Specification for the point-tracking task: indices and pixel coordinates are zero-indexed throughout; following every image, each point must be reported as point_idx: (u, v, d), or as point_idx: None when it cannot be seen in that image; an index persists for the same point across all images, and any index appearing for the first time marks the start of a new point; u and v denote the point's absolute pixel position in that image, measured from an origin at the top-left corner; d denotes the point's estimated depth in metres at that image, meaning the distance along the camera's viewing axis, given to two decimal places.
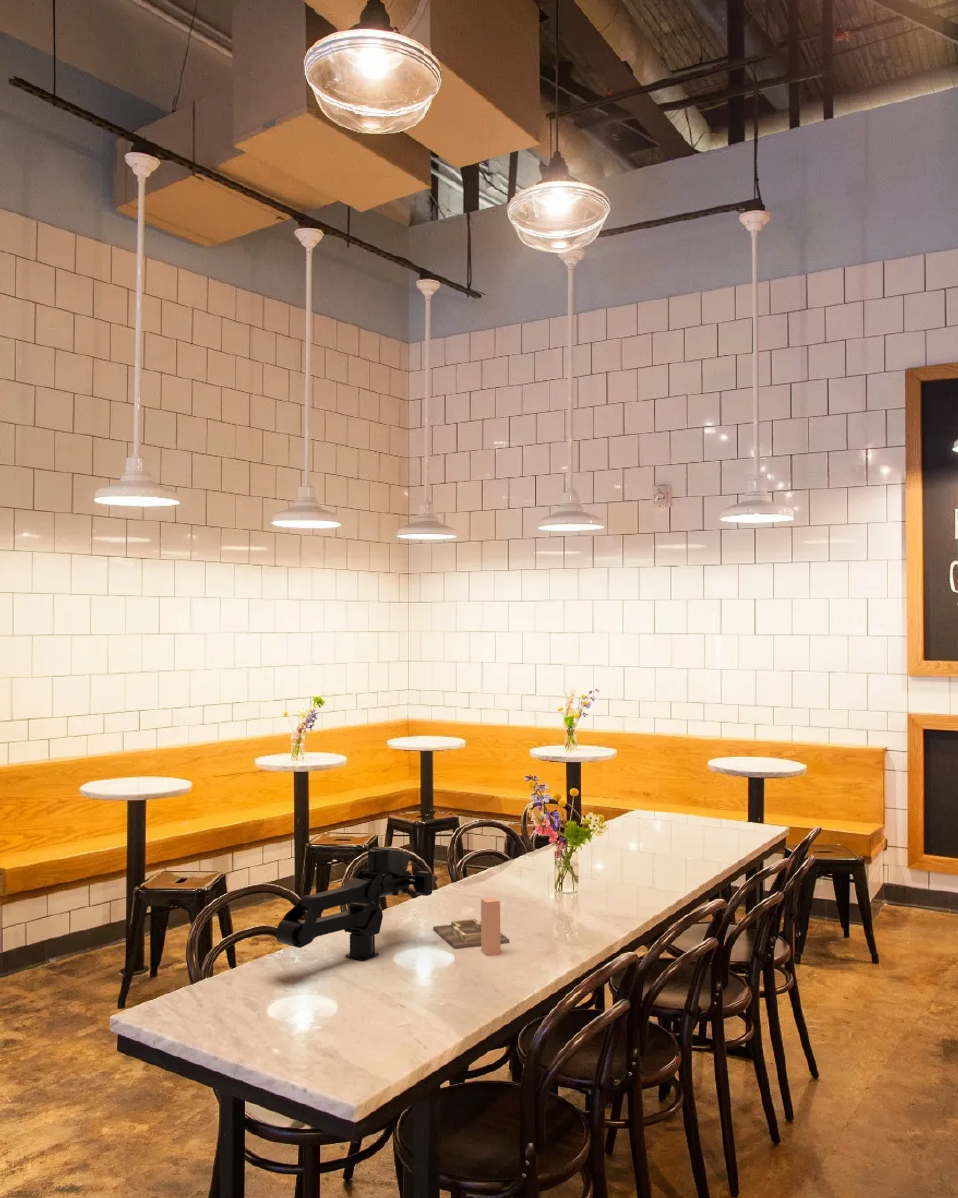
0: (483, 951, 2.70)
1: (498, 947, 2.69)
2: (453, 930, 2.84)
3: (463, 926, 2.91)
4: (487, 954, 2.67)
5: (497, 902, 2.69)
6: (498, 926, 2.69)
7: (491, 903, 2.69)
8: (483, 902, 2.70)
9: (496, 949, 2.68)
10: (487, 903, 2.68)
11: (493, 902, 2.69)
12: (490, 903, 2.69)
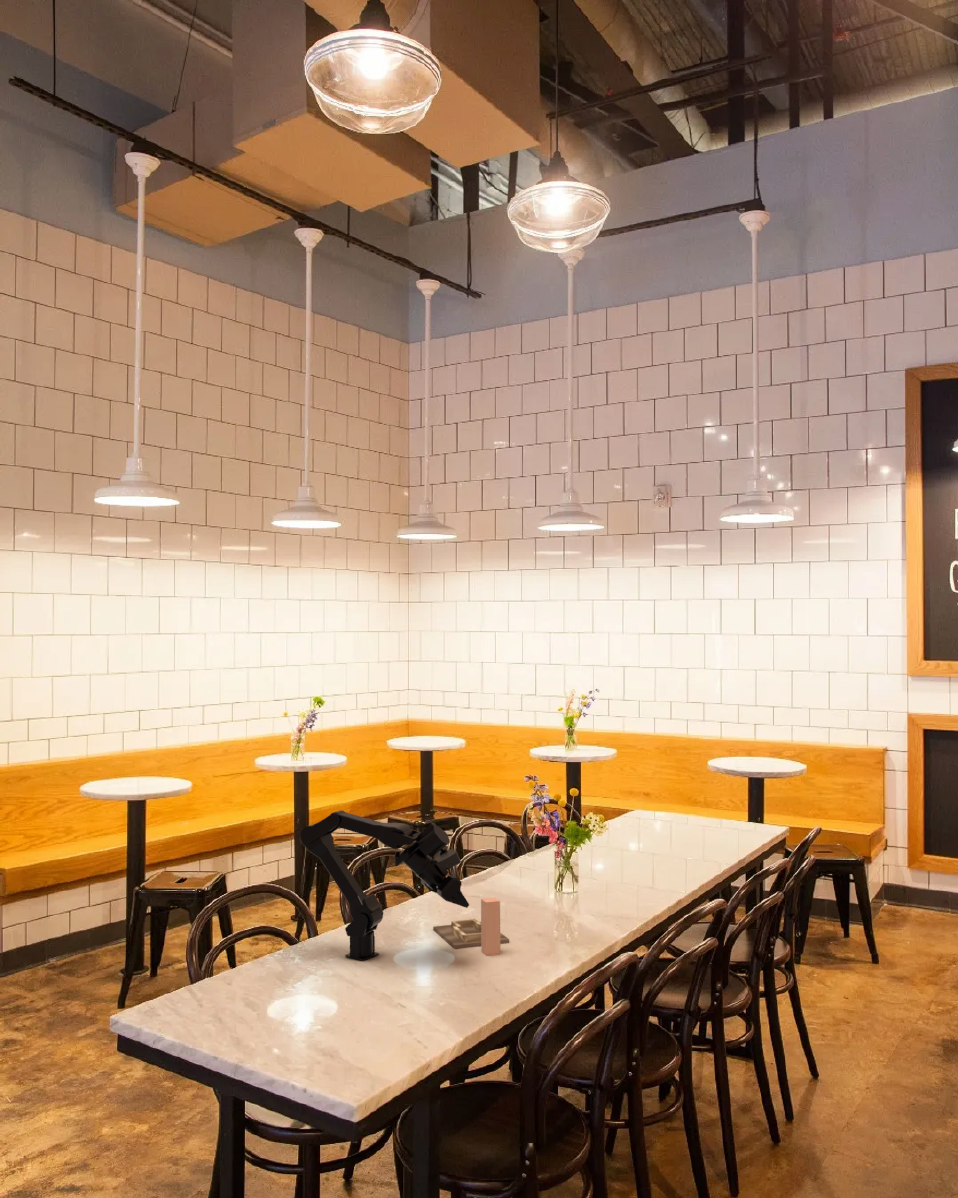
0: (483, 951, 2.70)
1: (498, 947, 2.69)
2: (453, 930, 2.84)
3: (463, 926, 2.91)
4: (487, 954, 2.67)
5: (497, 902, 2.69)
6: (498, 926, 2.69)
7: (491, 903, 2.69)
8: (483, 902, 2.70)
9: (496, 949, 2.68)
10: (487, 903, 2.68)
11: (493, 902, 2.69)
12: (490, 903, 2.69)
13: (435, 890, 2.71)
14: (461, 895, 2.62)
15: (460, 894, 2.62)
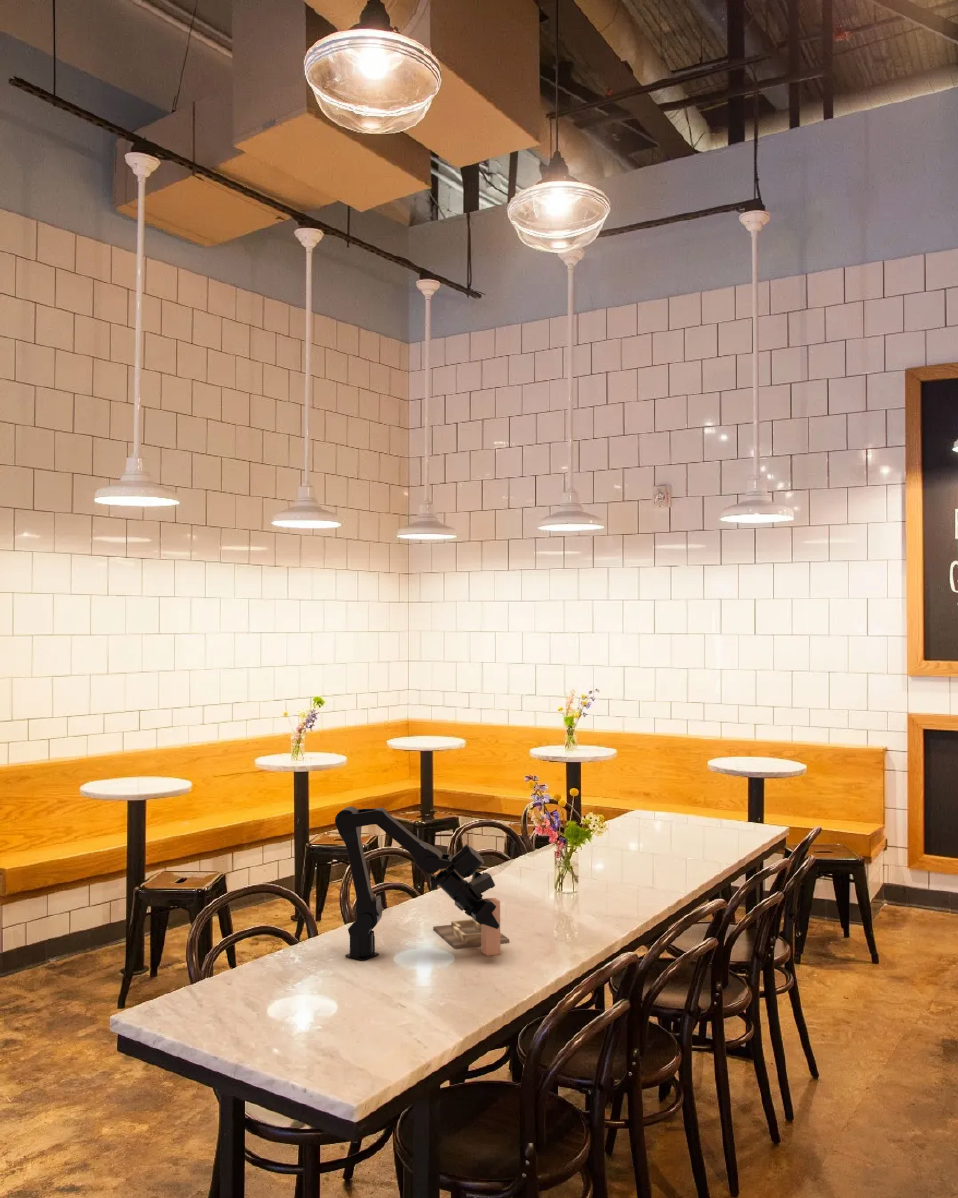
0: (483, 951, 2.70)
1: (498, 947, 2.69)
2: (453, 930, 2.84)
3: (463, 926, 2.91)
4: (487, 954, 2.67)
5: (497, 902, 2.69)
6: None
7: None
8: None
9: (496, 949, 2.68)
10: None
11: (493, 902, 2.69)
12: None
13: (472, 914, 2.71)
14: (492, 917, 2.67)
15: (491, 916, 2.67)
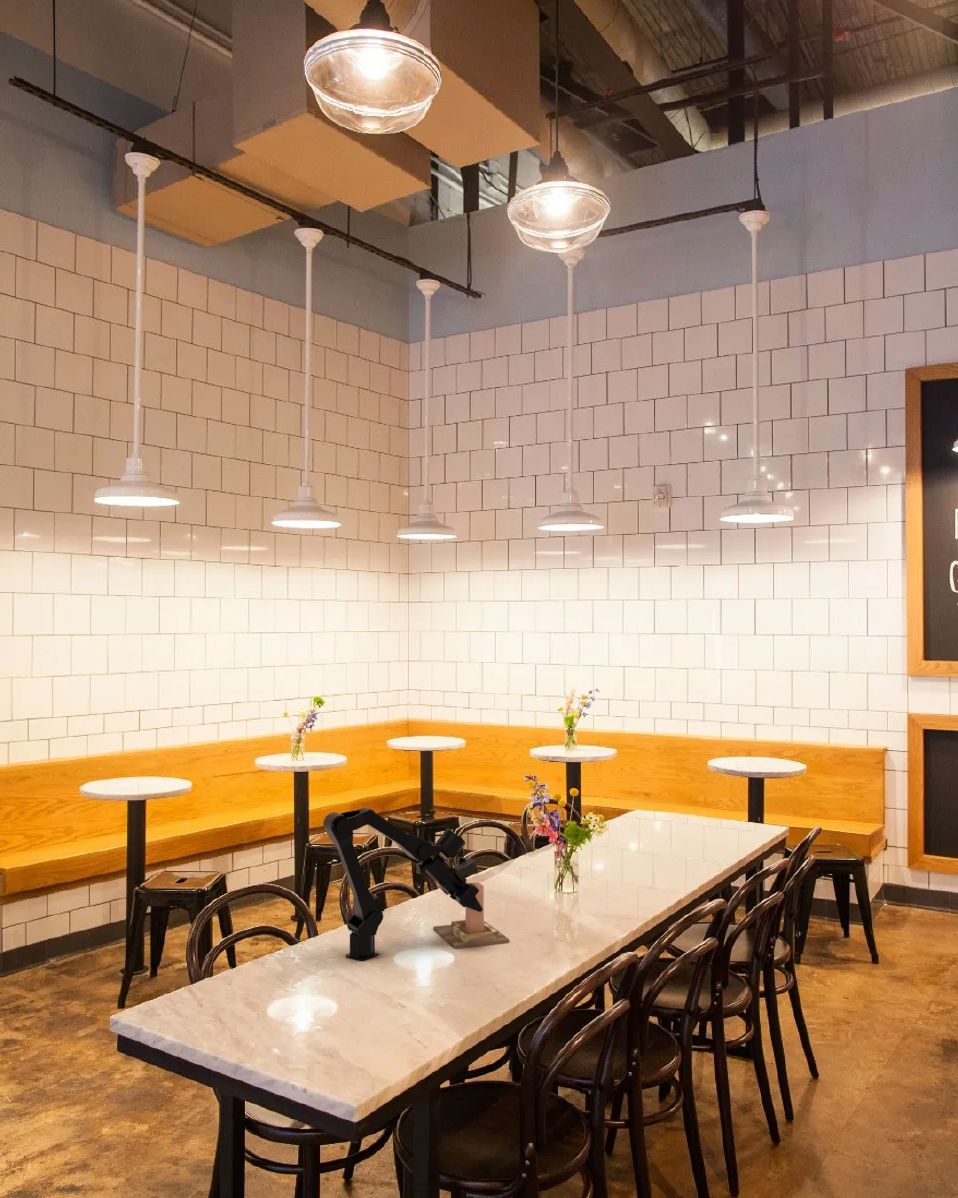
0: (467, 933, 2.82)
1: (481, 929, 2.81)
2: (453, 930, 2.84)
3: (463, 926, 2.91)
4: None
5: (481, 886, 2.82)
6: None
7: None
8: None
9: (480, 931, 2.81)
10: None
11: (477, 886, 2.81)
12: None
13: None
14: (475, 900, 2.79)
15: (474, 899, 2.79)
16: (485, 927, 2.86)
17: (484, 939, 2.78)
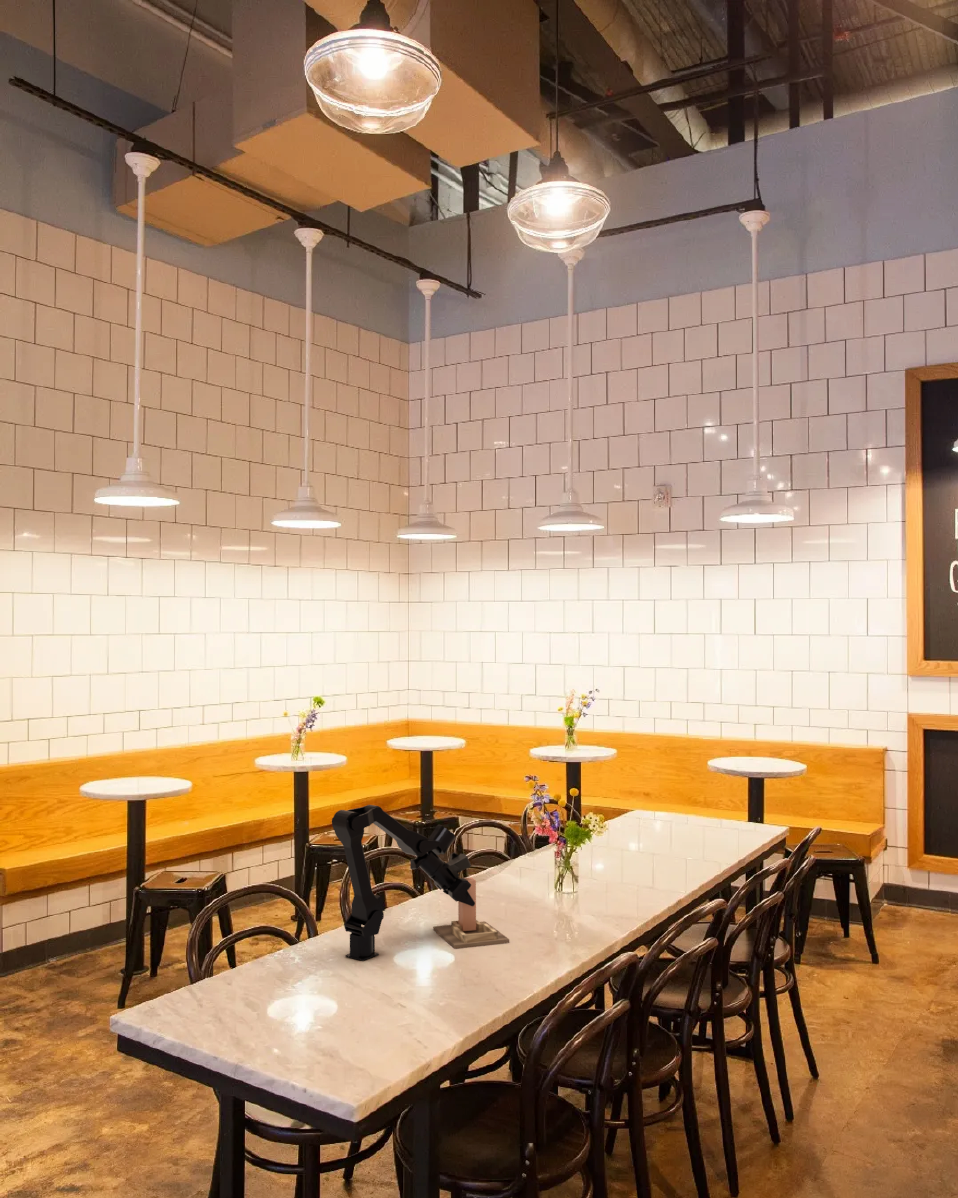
0: None
1: (474, 923, 2.87)
2: (453, 930, 2.84)
3: None
4: (463, 930, 2.86)
5: (473, 881, 2.88)
6: None
7: None
8: None
9: (472, 925, 2.87)
10: None
11: (469, 881, 2.87)
12: None
13: None
14: (468, 895, 2.85)
15: (467, 894, 2.85)
16: (485, 927, 2.86)
17: (484, 939, 2.78)
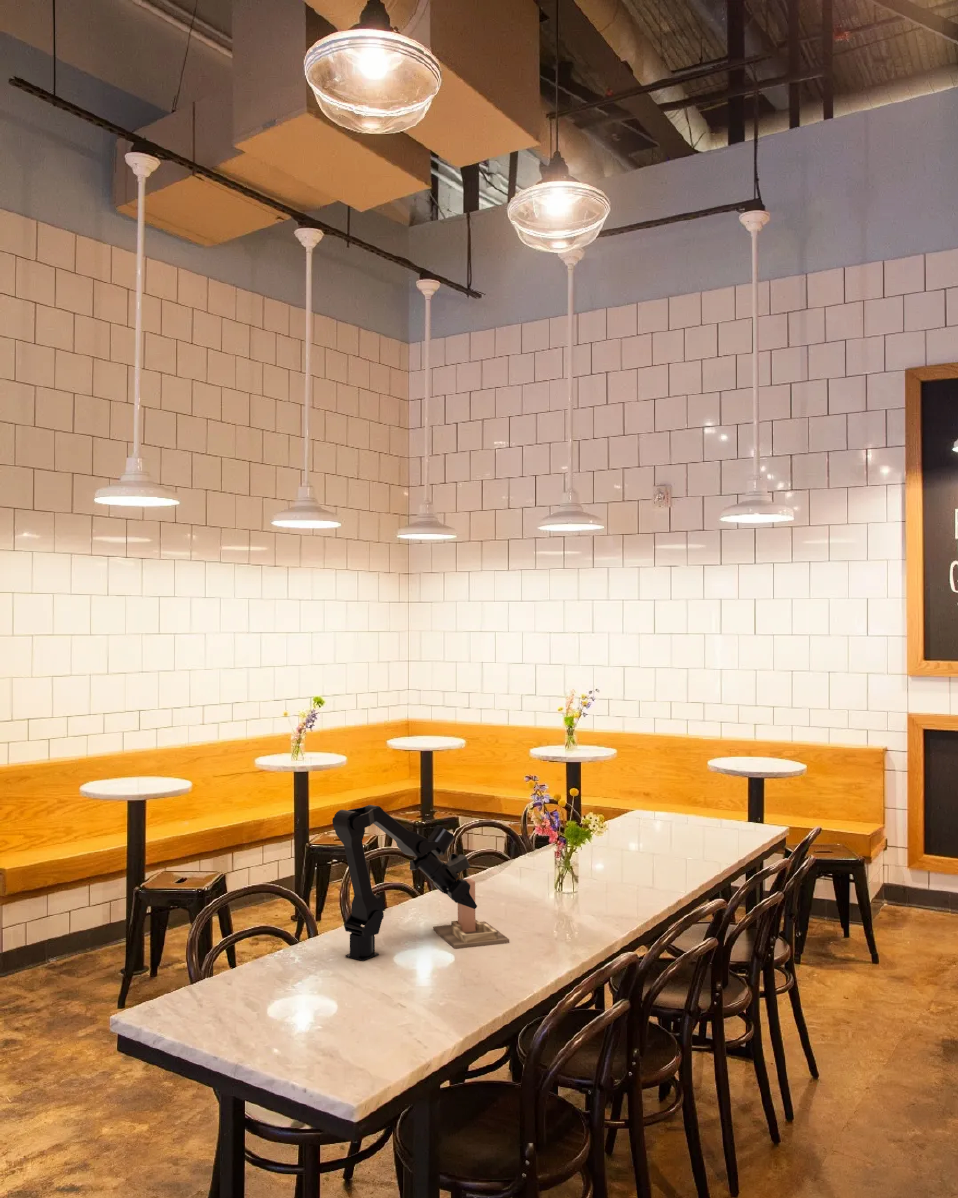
0: None
1: (473, 924, 2.87)
2: (453, 930, 2.84)
3: None
4: (463, 931, 2.86)
5: (472, 882, 2.88)
6: None
7: None
8: None
9: (472, 926, 2.87)
10: None
11: (468, 882, 2.88)
12: None
13: (446, 892, 2.93)
14: (470, 897, 2.83)
15: (469, 896, 2.83)
16: (485, 927, 2.86)
17: (484, 939, 2.78)
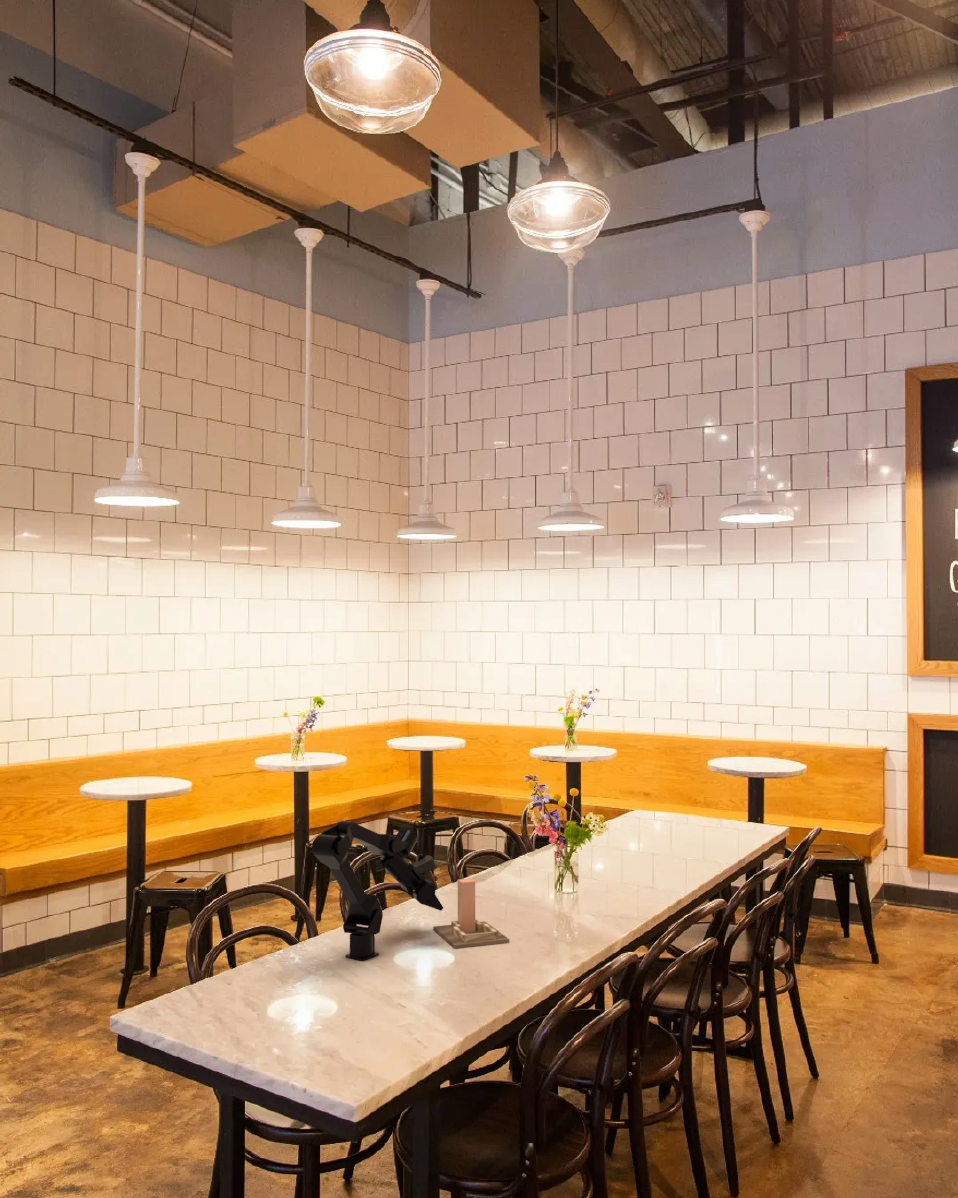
0: None
1: (473, 924, 2.87)
2: (453, 930, 2.84)
3: None
4: (463, 931, 2.86)
5: (472, 882, 2.88)
6: (473, 905, 2.88)
7: (467, 883, 2.87)
8: (459, 883, 2.89)
9: (472, 926, 2.87)
10: (463, 883, 2.87)
11: (468, 882, 2.88)
12: (466, 883, 2.87)
13: (413, 893, 2.89)
14: (436, 899, 2.80)
15: (435, 898, 2.80)
16: (485, 927, 2.86)
17: (484, 939, 2.78)
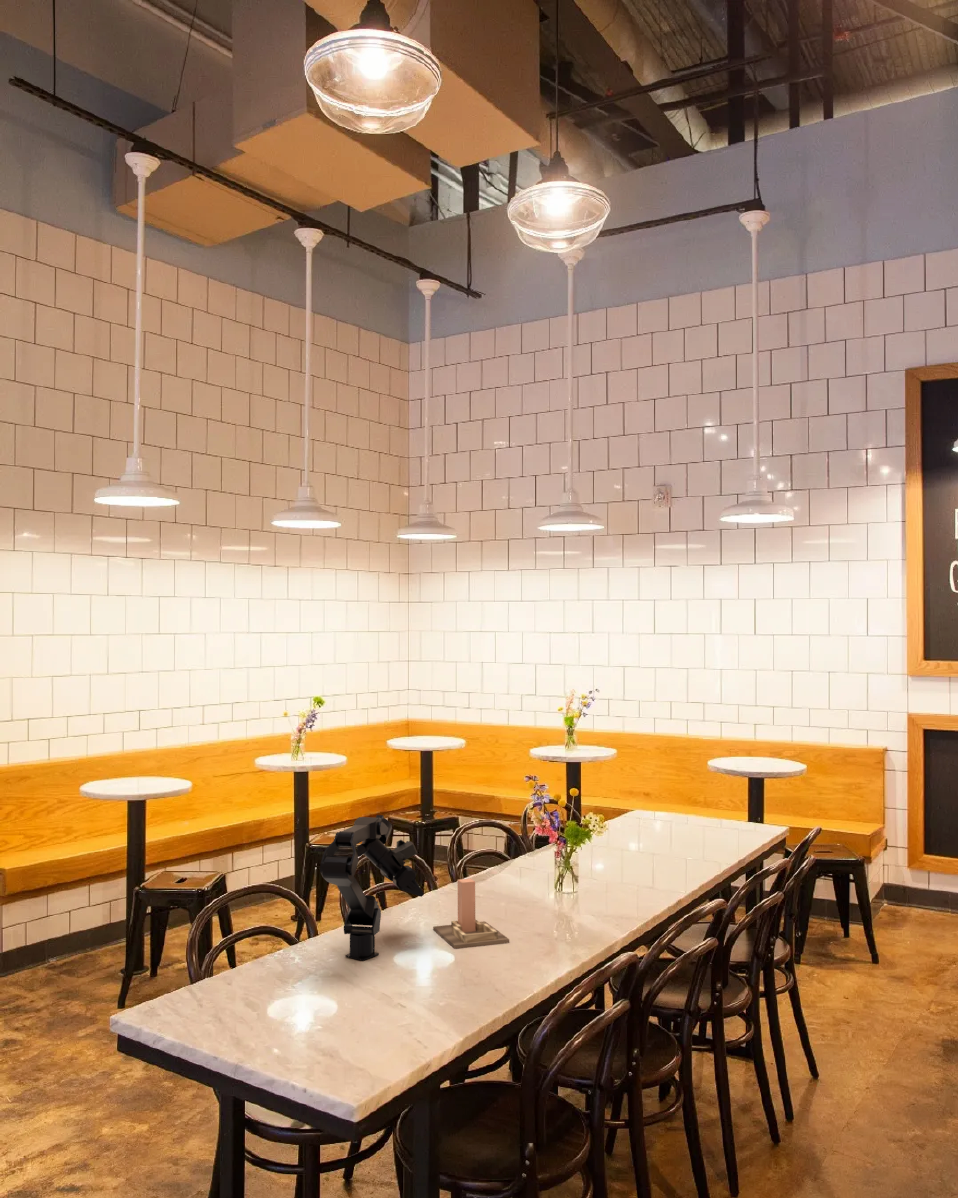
0: None
1: (473, 924, 2.87)
2: (453, 930, 2.84)
3: None
4: (463, 931, 2.86)
5: (472, 882, 2.88)
6: (473, 905, 2.88)
7: (467, 883, 2.87)
8: (459, 883, 2.89)
9: (472, 926, 2.87)
10: (463, 883, 2.87)
11: (468, 882, 2.88)
12: (466, 883, 2.87)
13: None
14: (416, 885, 2.76)
15: (415, 884, 2.76)
16: (485, 927, 2.86)
17: (484, 939, 2.78)
